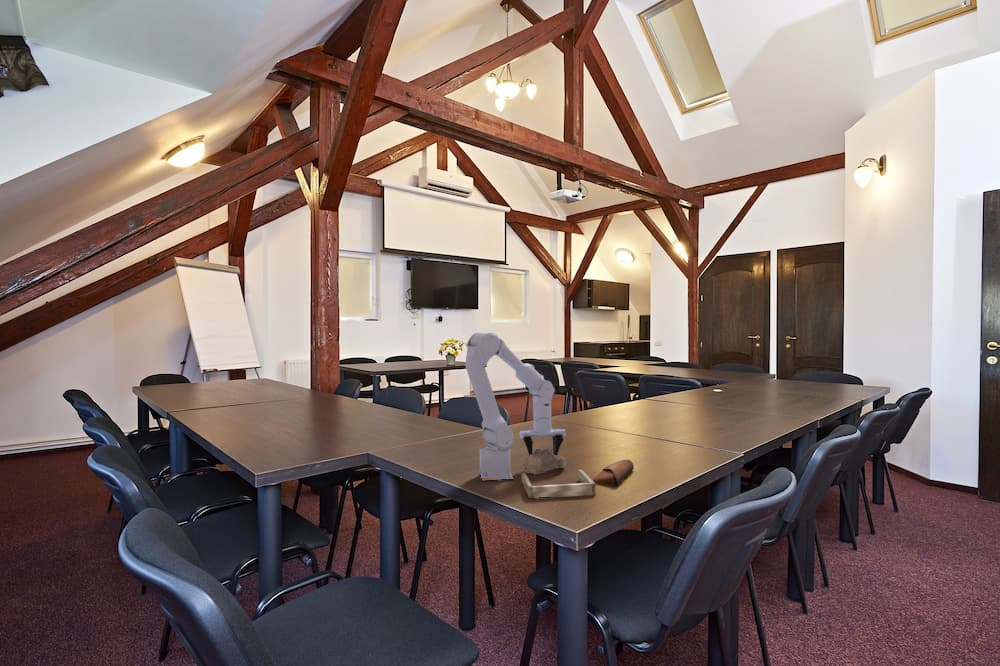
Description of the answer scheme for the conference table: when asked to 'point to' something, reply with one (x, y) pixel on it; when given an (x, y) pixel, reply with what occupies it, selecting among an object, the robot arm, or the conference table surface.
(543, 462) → the rock
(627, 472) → the sunglasses case
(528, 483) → the box
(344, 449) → the conference table surface
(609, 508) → the conference table surface
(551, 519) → the conference table surface
